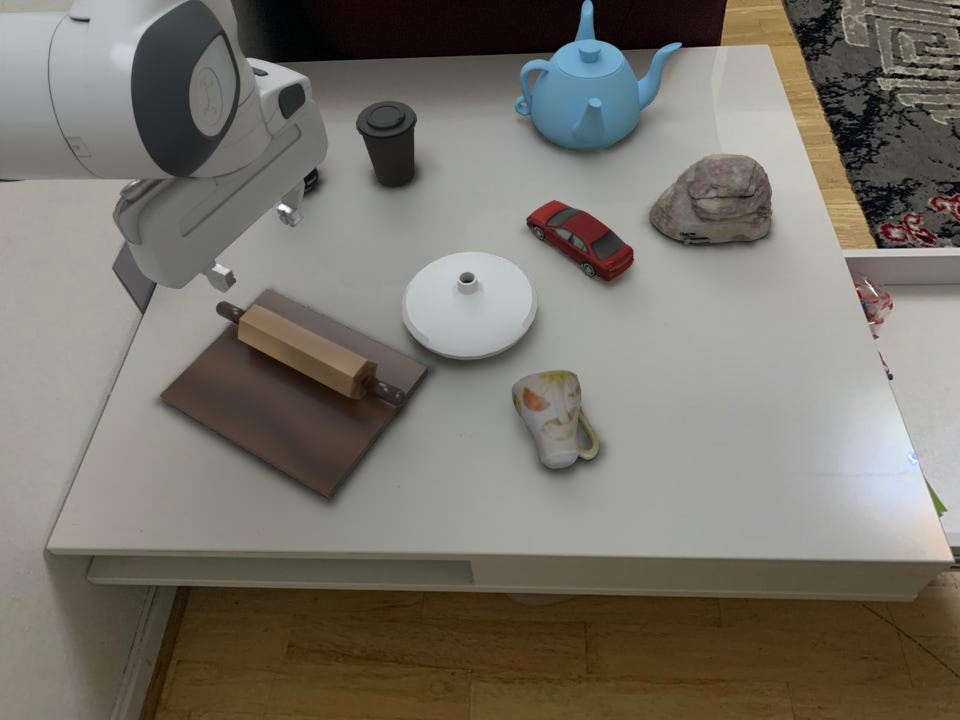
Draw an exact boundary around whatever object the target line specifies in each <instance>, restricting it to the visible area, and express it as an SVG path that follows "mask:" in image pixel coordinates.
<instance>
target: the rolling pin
mask: <svg viewBox="0 0 960 720" xmlns="http://www.w3.org/2000/svg"><path fill="white" fill-rule="evenodd" d="M215 312H216V313H217V314H218V315H219V317H222V318H224V319H226V320H228V321H230V322H232V323H233V322H234V323H235V324H237V325H239V330H238V339H239V340H241V341H243V342H245V343H247V344H248V345H250V346H252V347H254V348H256V349H258V350H260V351H262V352H264V353H266V354H267V355H269V356H271V357H273V358H275V359H277V360H279V361H281V362H283V363H285V364H286V365H288V366H290V367H292V368H294V369H296V370H298V371H300V372H302V373H304V374H305V375H307V376H309V377H311V378H313V379H315V380H317V381H319V382H321V383H322V384H324V385H326V386H328V387H330V388H332V389H334V390H336V391H338V392H340V393H341V394H343V395H345V396H347V397H349V398H353V399H358V400H361V399H362V397H363V396H364V395H365V394H366V393H367V392H369V393H371V394H373V395H375V396H376V397H378V398H380V399H382V400H384V401H386V402H388V403H390V404H392V405H394V406H397V407H398V406H402V405H403V406H404V405H405V404H406V403H407V401H406V399H407V397H406V394H405V392H404V391H402V390H400V389H398V388H396V387H394V386H392V385H390V384H389V383H387V382H385V381H383V380H381V379H379V378H377V377H375V376H376V370H377V363H375V362H373V361H371V360H369V359H367V358H365V357H363V356H361V355H359V354H357V353H355V352H353V351H351V350H349V349H347V348H345V347H343V346H341V345H339V344H337V343H335V342H333V341H331V340H329V339H327V338H325V337H323V336H321V335H319V334H317V333H315V332H313V331H311V330H309V329H307V328H305V327H303V326H301V325H299V324H297V323H295V322H293V321H291V320H289V319H287V318H285V317H283V316H281V315H279V314H277V313H275V312H273V311H271V310H269V309H267V308H264V307H262V306H259V305H256V304H254V305H253V306H252V307H251V308H250V309H249V310H248V311H247V312H246V311H245V310H244V309H243V308H240V307H238V306H236V305H234V304H233V303H231V302H228V301H226V300H222V301H219V302H218V303H217V304H216V306H215ZM407 400H408V399H407ZM403 406H402V407H403Z"/></svg>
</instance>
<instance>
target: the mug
mask: <svg viewBox="0 0 960 720" xmlns="http://www.w3.org/2000/svg"><path fill="white" fill-rule="evenodd" d="M511 398H512V399H511V400H512V404H513V407H514V409H515V411H516V413H517V415H518V416H519V418H520V420H521V421H522V422H523V424H524V425H525V427H526V428H527V430H528V431H529V433H530V435H531V437H532V438H533V439H534V442H535V445H536V448H537V452H538V458H539V460H540V462H541V464H543V465H544V466H545V467H547V468H549V469H563V468H566V467H569V466H571V465H573V464H575V462H576V461H577V460H578V457H579V458H581V459H583V460H586V461H588V460H592V459H594V458H595V457H596V456H597V454H598V453H599V449H600V442H599V439H598V437H597V435H596V433H595V431H594V429H593V428H592V426H591V423H590V422H589V420H588V418H587V417H586V415H585V412H584V410H583V408H582V405H581V404H582V387H581V384H580V381H579V377H578V376H577V374H576V373H575V372H573V371H570V370H564V369H555V370H546V371H545V370H544V371H540V372H536V373H532V374H529V375H526V376H523V377H521V378H520V379H518V381H516V382H515V383H514V384H513V386H512V387H511ZM578 423H579V424H580V425H581V426H582V428H583V429H584V431H585V432H586V434H587V436H588V438H589V440H590V443H591V448H590V449H587V450H586V449H584V448H582V447H581V445H580V444H579V442H578V437H577V428H578V427H577V426H578Z"/></svg>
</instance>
